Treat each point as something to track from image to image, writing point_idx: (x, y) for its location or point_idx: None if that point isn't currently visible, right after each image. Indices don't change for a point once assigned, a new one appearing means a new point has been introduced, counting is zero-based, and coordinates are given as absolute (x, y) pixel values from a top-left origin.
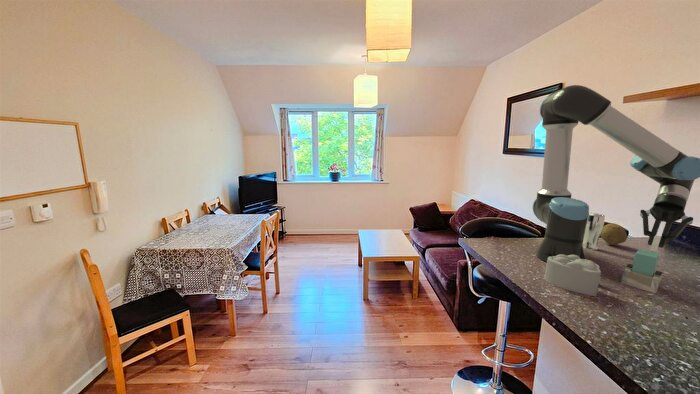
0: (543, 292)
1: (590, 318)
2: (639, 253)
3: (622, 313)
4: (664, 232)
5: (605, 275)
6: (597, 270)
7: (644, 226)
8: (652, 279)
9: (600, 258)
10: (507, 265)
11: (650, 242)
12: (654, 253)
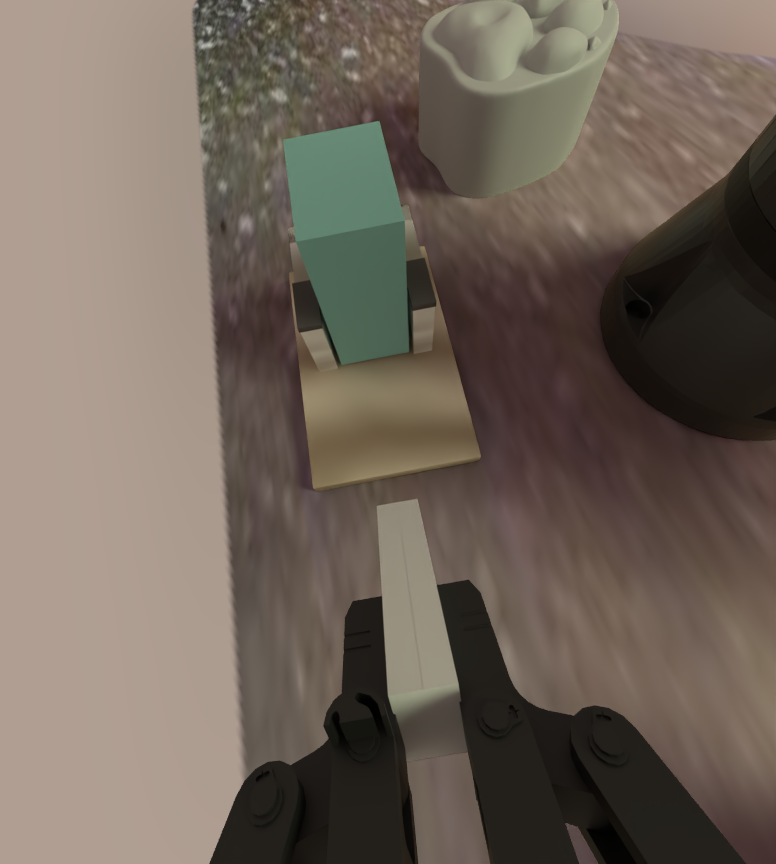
0: None
1: (362, 35)
2: (365, 135)
3: (331, 109)
4: (375, 831)
5: (499, 338)
6: (433, 36)
7: (727, 858)
8: None
9: (691, 626)
10: (705, 85)
11: (455, 590)
12: (315, 217)
